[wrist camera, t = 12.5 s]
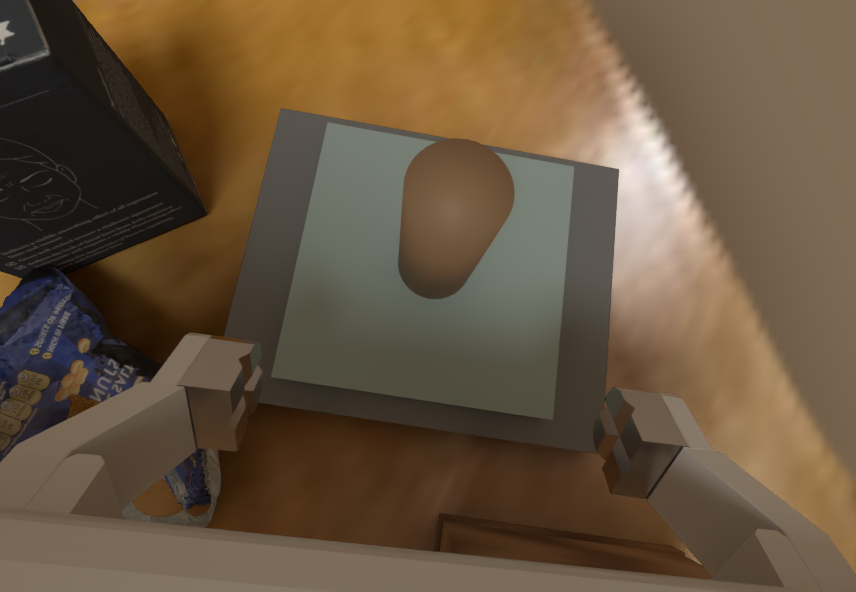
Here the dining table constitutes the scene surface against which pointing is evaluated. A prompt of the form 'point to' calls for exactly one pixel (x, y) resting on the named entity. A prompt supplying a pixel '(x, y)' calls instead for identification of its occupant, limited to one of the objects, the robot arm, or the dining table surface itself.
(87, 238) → the box
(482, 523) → the tea box
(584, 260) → the gray rectangular tray
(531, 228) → the lid
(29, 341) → the snack package
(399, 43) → the dining table surface
